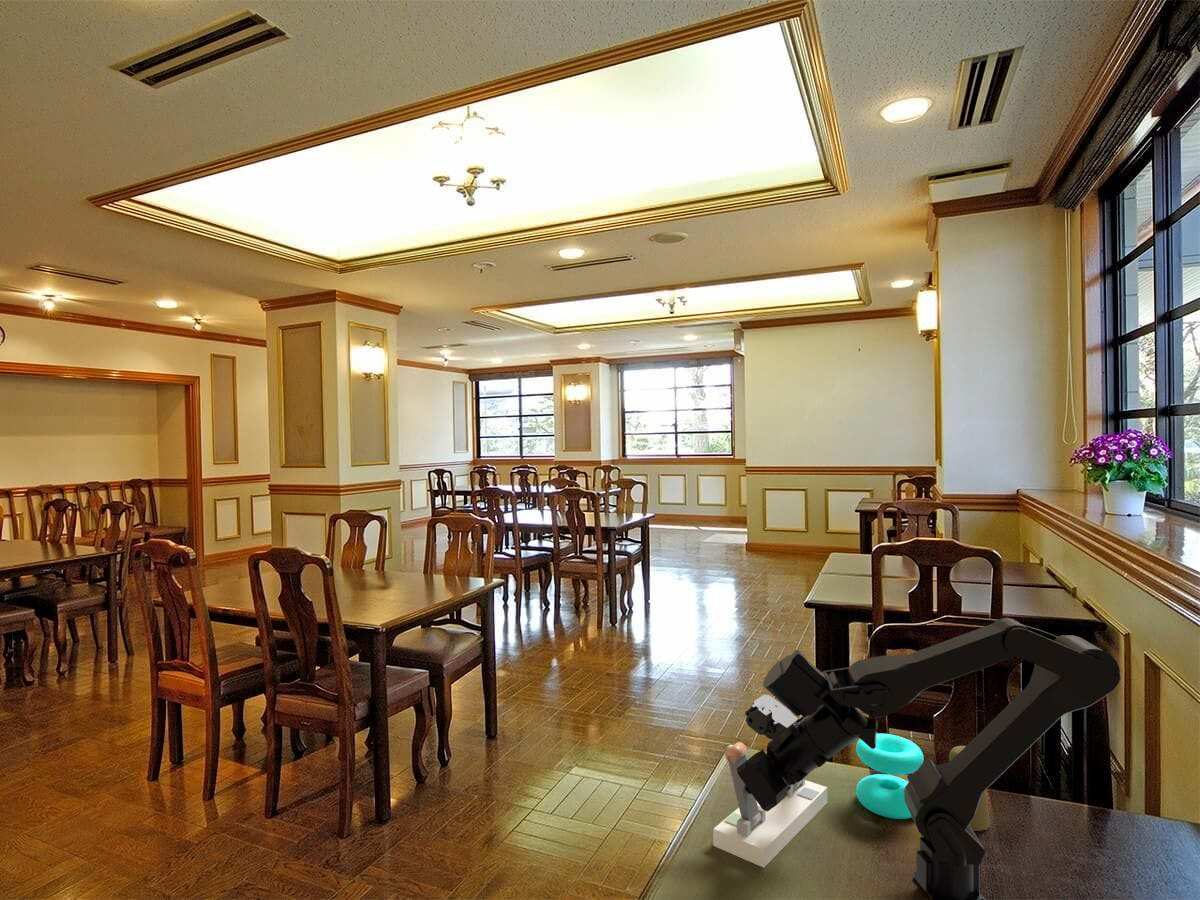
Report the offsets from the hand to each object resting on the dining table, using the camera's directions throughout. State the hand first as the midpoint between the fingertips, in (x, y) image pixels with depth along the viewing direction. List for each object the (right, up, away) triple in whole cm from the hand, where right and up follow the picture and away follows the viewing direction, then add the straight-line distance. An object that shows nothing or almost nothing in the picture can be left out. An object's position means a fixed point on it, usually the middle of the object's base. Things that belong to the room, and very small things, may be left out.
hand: (747, 789), depth 100 cm
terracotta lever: (+1, -4, 0) cm, 4 cm away
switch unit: (+5, -8, +5) cm, 11 cm away
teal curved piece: (+25, -8, +10) cm, 28 cm away
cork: (+35, -8, +6) cm, 36 cm away
